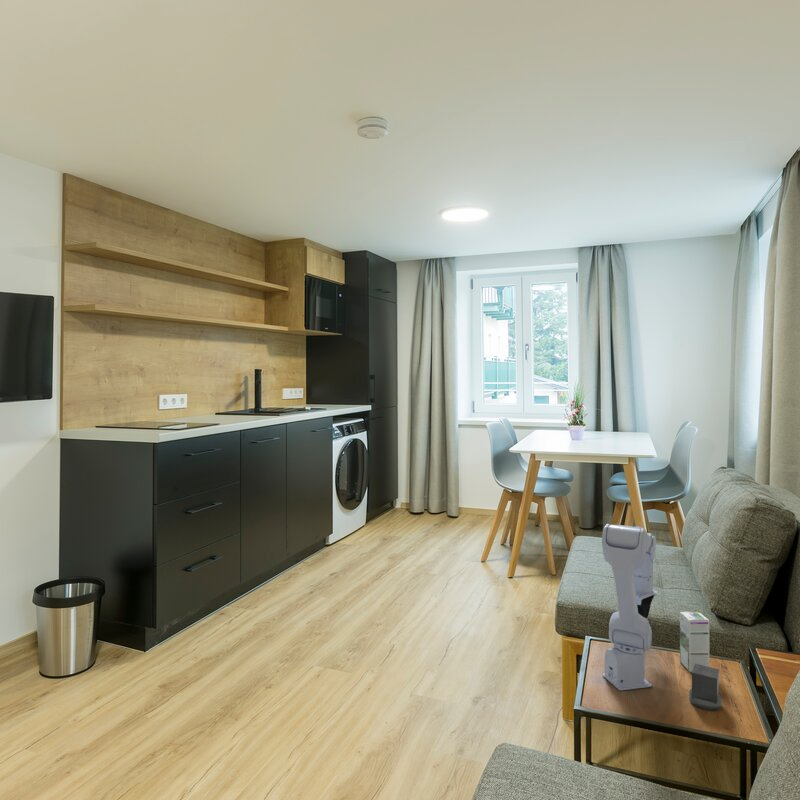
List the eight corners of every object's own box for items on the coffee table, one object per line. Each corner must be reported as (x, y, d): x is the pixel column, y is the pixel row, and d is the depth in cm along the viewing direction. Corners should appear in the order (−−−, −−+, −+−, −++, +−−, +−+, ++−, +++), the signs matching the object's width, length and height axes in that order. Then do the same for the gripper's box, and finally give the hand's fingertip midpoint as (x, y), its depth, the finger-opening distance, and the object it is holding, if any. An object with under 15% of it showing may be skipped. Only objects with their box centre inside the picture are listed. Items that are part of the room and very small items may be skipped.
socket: (691, 696, 140) (692, 672, 140) (694, 686, 145) (694, 663, 144) (716, 703, 137) (717, 678, 137) (718, 693, 142) (719, 669, 141)
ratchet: (720, 714, 136) (720, 693, 136) (687, 705, 140) (688, 685, 140) (724, 687, 148) (724, 668, 148) (694, 679, 152) (694, 661, 152)
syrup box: (710, 672, 156) (711, 619, 155) (688, 672, 156) (689, 619, 155) (699, 662, 161) (700, 611, 161) (678, 662, 162) (679, 611, 161)
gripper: (652, 584, 155) (652, 634, 156) (661, 569, 167) (660, 616, 168) (625, 579, 159) (624, 628, 159) (635, 565, 171) (634, 610, 172)
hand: (641, 621), depth 164 cm, fingers open, 7 cm apart
